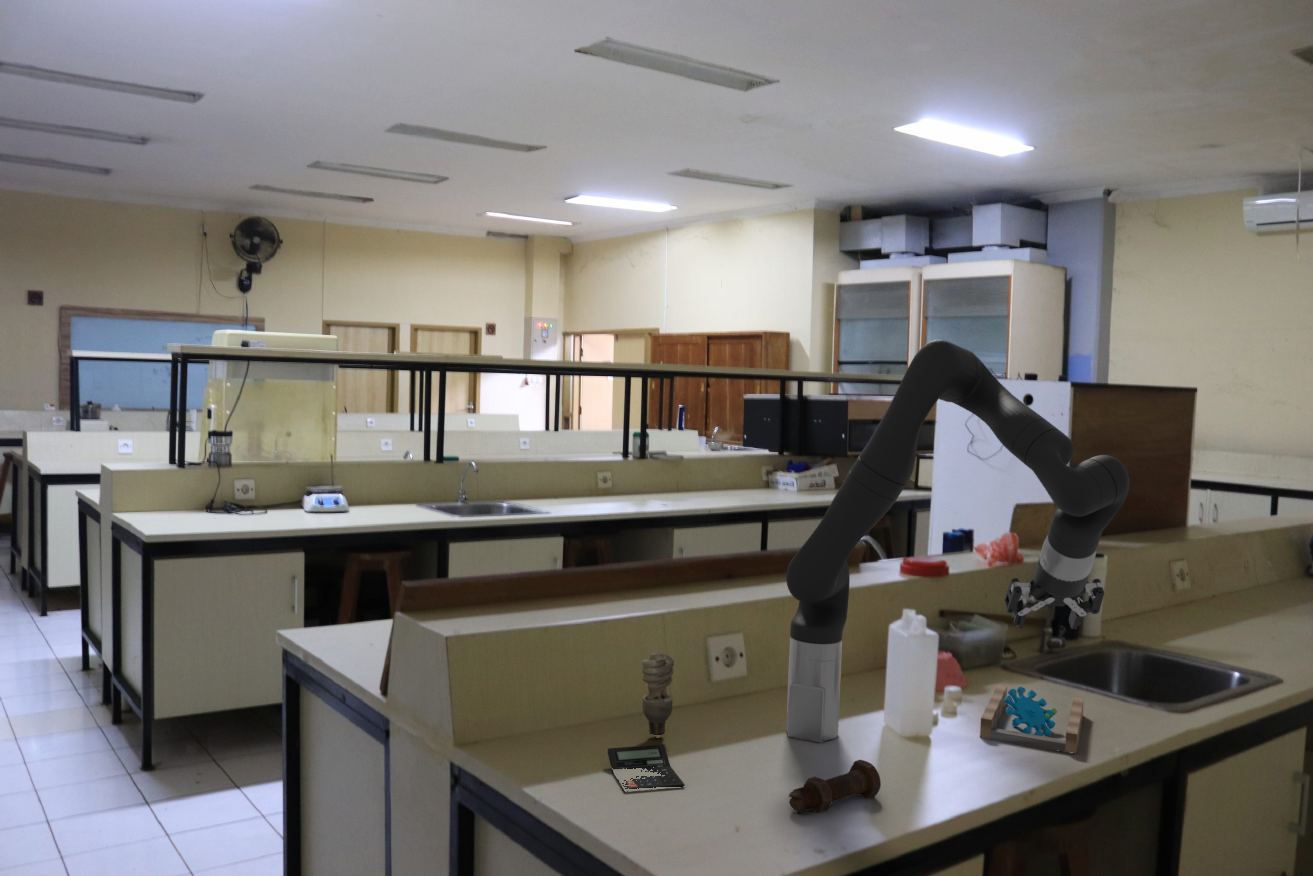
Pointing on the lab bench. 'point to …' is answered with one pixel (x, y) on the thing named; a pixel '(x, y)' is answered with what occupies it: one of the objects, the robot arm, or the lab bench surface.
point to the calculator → (645, 765)
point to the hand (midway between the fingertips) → (1045, 624)
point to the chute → (1068, 745)
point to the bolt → (836, 788)
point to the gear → (1029, 712)
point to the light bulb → (657, 691)
